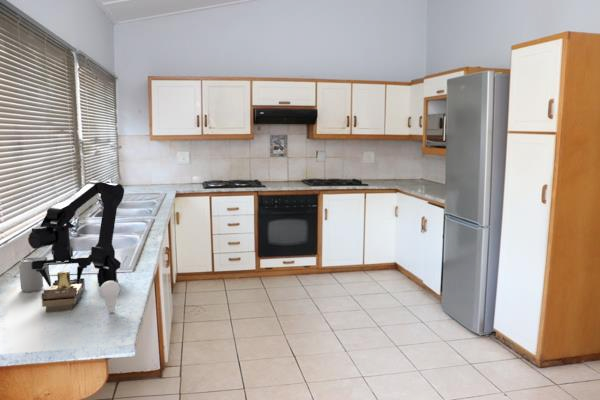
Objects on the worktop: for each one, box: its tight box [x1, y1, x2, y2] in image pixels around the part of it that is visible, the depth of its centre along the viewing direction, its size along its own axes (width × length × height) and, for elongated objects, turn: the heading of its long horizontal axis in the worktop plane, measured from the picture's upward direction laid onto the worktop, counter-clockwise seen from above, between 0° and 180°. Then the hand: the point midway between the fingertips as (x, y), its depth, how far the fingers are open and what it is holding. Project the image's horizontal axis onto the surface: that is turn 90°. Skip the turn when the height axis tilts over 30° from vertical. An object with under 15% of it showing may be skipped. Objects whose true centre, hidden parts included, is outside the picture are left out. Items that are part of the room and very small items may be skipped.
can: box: [18, 256, 44, 293], centre depth 187 cm, size 8×8×12 cm
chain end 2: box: [52, 277, 86, 305], centre depth 180 cm, size 10×16×4 cm, turn 15°
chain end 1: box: [40, 284, 82, 313], centre depth 174 cm, size 10×16×6 cm, turn 15°
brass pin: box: [57, 270, 71, 289], centre depth 177 cm, size 4×4×10 cm
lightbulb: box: [99, 281, 121, 314], centre depth 165 cm, size 6×6×11 cm
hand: (64, 285), depth 177 cm, fingers open, 9 cm apart
